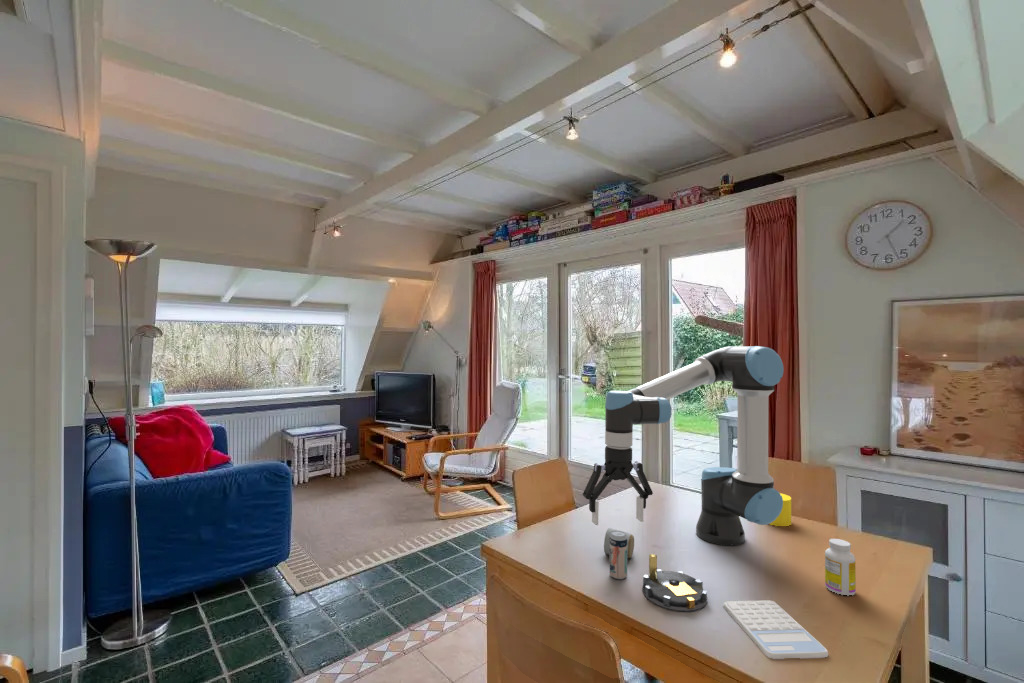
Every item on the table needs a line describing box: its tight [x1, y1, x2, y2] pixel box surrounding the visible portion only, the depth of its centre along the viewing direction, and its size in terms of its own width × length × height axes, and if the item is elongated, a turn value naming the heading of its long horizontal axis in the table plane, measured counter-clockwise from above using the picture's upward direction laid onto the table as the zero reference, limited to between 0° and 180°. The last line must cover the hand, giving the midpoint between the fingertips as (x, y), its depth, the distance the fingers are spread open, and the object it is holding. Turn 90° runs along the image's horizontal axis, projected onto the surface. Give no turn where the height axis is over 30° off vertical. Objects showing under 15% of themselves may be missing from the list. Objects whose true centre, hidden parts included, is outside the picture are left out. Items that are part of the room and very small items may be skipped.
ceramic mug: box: [603, 527, 635, 559], centre depth 145 cm, size 11×8×8 cm
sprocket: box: [642, 553, 708, 609], centre depth 122 cm, size 16×16×8 cm
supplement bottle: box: [824, 538, 857, 597], centre depth 124 cm, size 7×7×13 cm
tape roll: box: [769, 492, 792, 527], centre depth 171 cm, size 10×10×9 cm
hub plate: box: [642, 584, 708, 613], centre depth 122 cm, size 16×16×1 cm
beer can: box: [609, 530, 628, 580], centre depth 131 cm, size 5×5×12 cm
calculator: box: [722, 599, 829, 660], centre depth 107 cm, size 13×20×2 cm, turn 3°
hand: (617, 521), depth 131 cm, fingers open, 13 cm apart
